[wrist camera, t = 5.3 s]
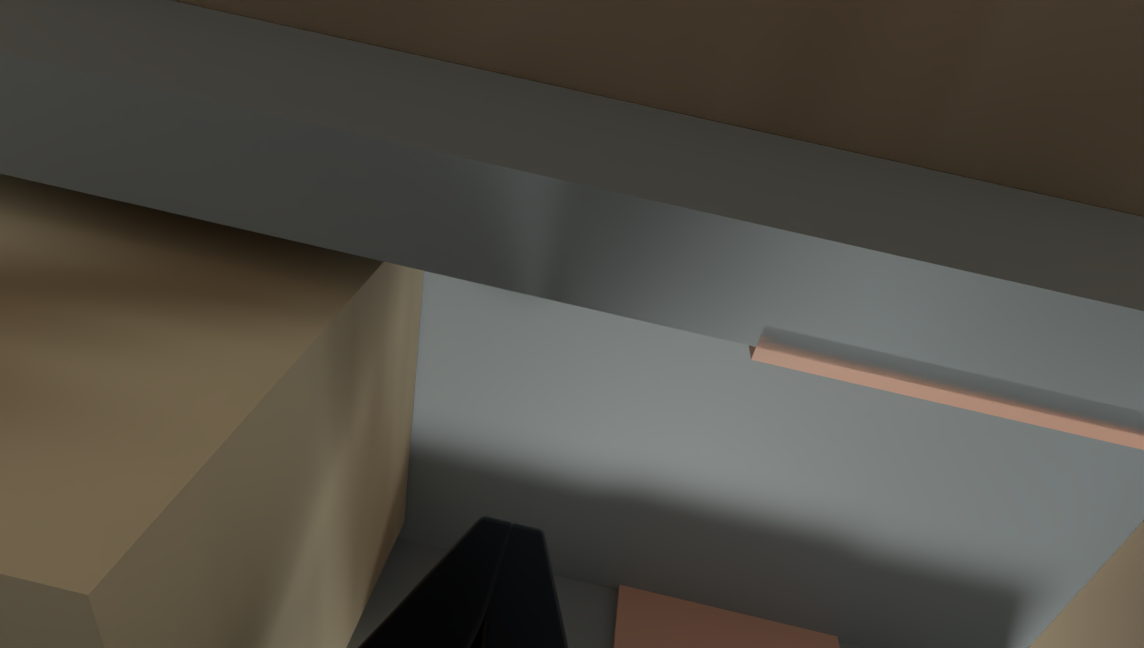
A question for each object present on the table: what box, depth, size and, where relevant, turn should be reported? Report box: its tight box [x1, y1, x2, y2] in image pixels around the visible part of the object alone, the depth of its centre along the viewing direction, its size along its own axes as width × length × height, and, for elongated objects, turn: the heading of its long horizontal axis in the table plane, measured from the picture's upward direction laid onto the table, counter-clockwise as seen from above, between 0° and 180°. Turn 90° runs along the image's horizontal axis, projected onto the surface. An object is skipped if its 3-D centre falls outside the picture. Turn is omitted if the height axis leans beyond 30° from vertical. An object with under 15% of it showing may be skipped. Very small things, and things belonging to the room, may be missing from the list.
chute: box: [0, 0, 1144, 648], centre depth 10 cm, size 20×9×4 cm, turn 79°
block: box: [0, 174, 424, 648], centre depth 8 cm, size 6×6×6 cm
